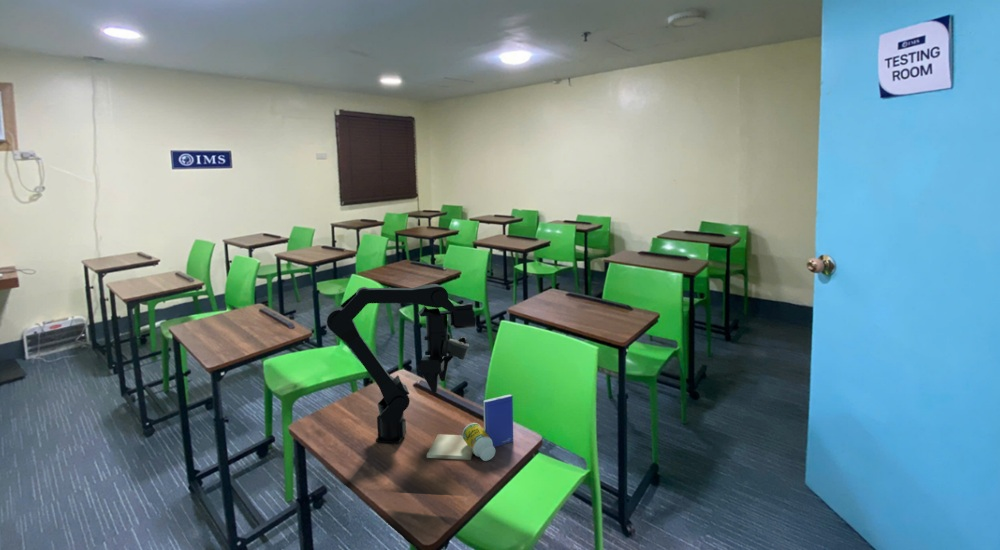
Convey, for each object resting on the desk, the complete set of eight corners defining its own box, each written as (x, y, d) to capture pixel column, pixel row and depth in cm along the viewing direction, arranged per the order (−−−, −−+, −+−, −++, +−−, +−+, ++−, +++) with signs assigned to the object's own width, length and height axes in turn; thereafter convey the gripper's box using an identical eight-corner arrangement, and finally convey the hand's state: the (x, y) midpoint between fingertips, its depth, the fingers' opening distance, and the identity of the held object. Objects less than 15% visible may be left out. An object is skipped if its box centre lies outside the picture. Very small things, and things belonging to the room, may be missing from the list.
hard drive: (514, 441, 124) (513, 395, 123) (486, 449, 120) (485, 402, 118) (510, 439, 125) (510, 394, 124) (483, 447, 121) (482, 400, 120)
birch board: (426, 460, 116) (426, 454, 116) (438, 439, 127) (438, 434, 127) (470, 462, 115) (470, 456, 115) (478, 441, 126) (478, 435, 126)
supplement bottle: (469, 443, 122) (486, 467, 114) (457, 434, 119) (474, 457, 111) (484, 428, 123) (501, 450, 115) (472, 418, 120) (490, 440, 112)
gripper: (459, 339, 117) (460, 400, 119) (472, 323, 135) (474, 376, 137) (415, 339, 118) (418, 399, 120) (434, 323, 137) (436, 375, 138)
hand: (439, 386), depth 129 cm, fingers open, 9 cm apart
